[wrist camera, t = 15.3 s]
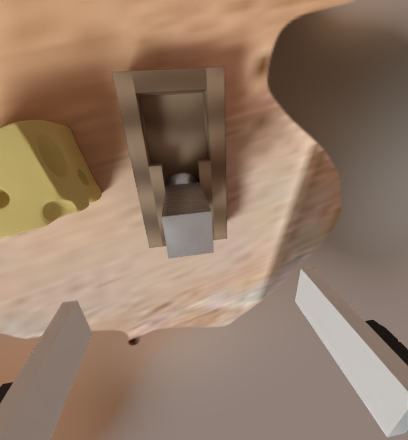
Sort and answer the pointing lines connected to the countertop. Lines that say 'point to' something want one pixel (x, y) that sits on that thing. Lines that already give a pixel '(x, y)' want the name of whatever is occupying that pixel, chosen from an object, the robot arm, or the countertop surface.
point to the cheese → (41, 176)
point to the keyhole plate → (175, 137)
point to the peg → (186, 216)
